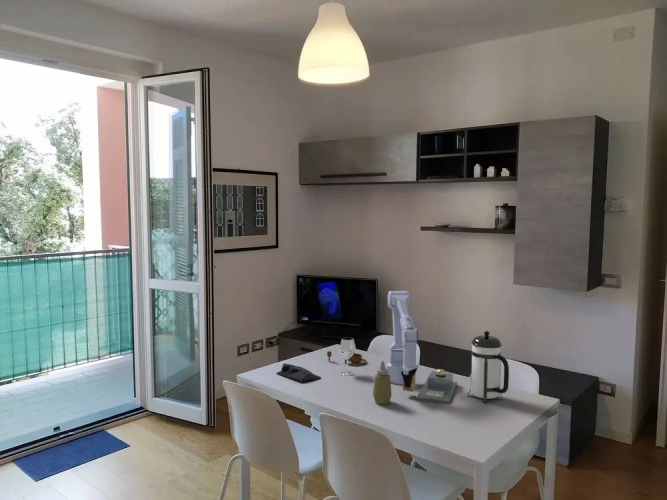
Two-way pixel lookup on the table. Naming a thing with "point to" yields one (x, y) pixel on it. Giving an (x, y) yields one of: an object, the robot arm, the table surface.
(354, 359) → the place setting
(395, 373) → the robot arm
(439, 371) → the pin
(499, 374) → the coffee press
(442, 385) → the base
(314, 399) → the table surface
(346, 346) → the wineglass
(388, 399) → the squeeze bottle
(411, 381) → the oak block
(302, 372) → the dark grey cloth
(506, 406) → the table surface
